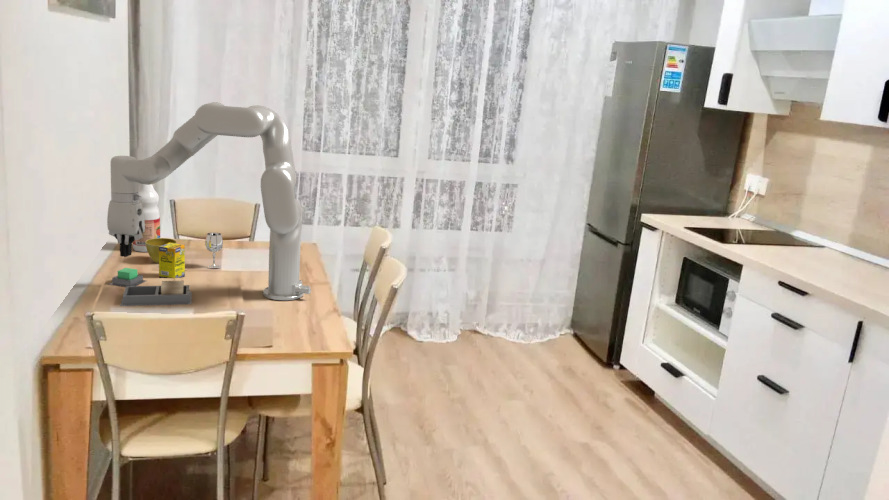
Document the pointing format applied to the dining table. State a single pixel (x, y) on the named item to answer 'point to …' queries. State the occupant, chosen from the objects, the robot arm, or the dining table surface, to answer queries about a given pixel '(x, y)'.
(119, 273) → the button
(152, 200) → the fruit juice
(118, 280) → the button housing
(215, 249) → the wineglass
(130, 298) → the divided grey tray
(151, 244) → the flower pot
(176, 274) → the supplement box
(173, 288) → the block
